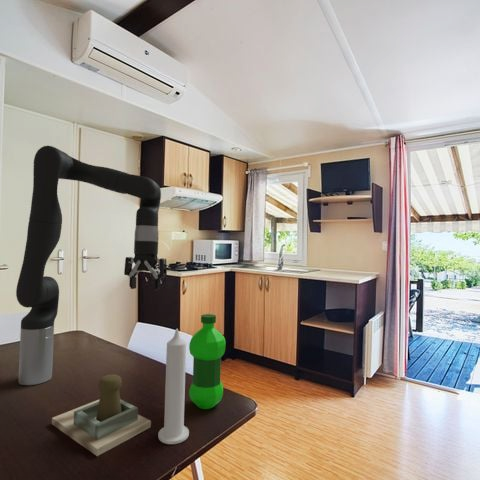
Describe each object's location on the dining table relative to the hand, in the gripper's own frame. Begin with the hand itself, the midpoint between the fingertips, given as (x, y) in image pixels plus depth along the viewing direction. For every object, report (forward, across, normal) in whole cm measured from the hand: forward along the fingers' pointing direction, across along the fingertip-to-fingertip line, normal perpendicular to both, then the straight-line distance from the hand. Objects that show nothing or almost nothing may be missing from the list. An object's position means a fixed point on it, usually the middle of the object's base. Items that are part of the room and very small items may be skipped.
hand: (144, 289), depth 105 cm
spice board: (+30, +5, -25) cm, 39 cm away
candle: (+30, +23, -23) cm, 45 cm away
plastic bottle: (+30, +25, -7) cm, 40 cm away
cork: (+29, +7, -26) cm, 39 cm away
